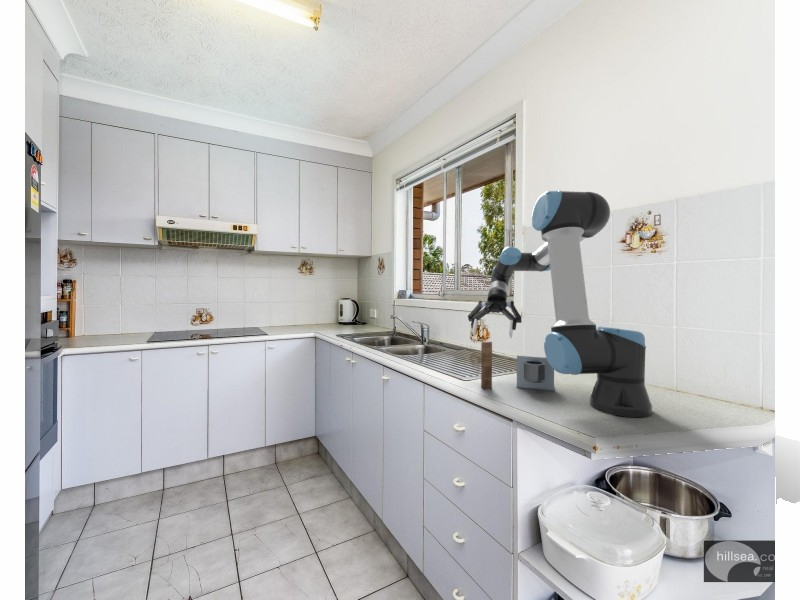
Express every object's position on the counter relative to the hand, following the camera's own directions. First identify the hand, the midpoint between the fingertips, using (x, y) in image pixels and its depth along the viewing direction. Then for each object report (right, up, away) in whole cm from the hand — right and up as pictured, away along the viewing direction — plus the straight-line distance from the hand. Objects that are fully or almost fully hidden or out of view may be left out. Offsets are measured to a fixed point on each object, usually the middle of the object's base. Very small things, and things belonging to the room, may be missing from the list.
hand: (491, 334), depth 133 cm
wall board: (+13, -17, -9) cm, 24 cm away
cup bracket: (+10, -13, -15) cm, 23 cm away
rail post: (-4, -18, -9) cm, 20 cm away
